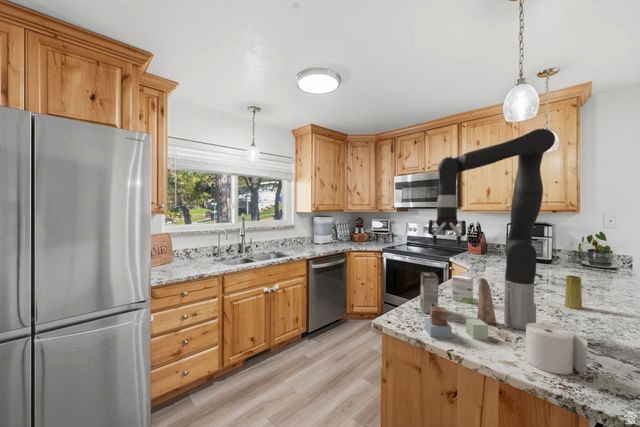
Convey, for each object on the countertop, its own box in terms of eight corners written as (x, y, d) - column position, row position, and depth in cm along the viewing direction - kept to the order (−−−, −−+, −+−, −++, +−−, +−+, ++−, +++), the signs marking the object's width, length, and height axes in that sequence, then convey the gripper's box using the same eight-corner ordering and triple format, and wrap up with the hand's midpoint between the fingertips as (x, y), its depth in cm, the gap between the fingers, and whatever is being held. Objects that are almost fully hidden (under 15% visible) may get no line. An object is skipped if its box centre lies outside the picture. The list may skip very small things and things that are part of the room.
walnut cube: (444, 320, 102) (444, 307, 102) (446, 326, 97) (447, 312, 97) (430, 319, 103) (430, 305, 103) (431, 324, 98) (431, 310, 98)
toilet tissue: (519, 352, 87) (519, 320, 86) (565, 358, 83) (566, 325, 83) (534, 371, 76) (535, 335, 76) (588, 379, 73) (589, 341, 73)
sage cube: (479, 333, 100) (480, 319, 100) (487, 339, 95) (488, 325, 95) (465, 332, 100) (466, 319, 100) (473, 339, 95) (473, 324, 95)
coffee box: (419, 305, 128) (420, 271, 128) (434, 307, 127) (434, 272, 127) (423, 313, 119) (423, 276, 119) (438, 314, 118) (439, 277, 118)
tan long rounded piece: (477, 319, 114) (479, 325, 108) (470, 276, 114) (472, 280, 109) (494, 319, 112) (498, 326, 106) (487, 275, 112) (490, 279, 106)
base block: (444, 330, 103) (444, 319, 103) (451, 338, 96) (451, 327, 96) (424, 329, 103) (425, 318, 103) (430, 337, 96) (430, 326, 96)
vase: (567, 308, 126) (568, 277, 126) (562, 304, 132) (562, 274, 132) (585, 310, 124) (585, 278, 124) (578, 306, 130) (578, 276, 130)
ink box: (473, 301, 135) (473, 277, 135) (469, 304, 131) (470, 279, 131) (454, 297, 141) (455, 274, 141) (451, 299, 138) (451, 276, 137)
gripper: (463, 206, 116) (463, 244, 117) (427, 206, 120) (427, 243, 121) (468, 206, 109) (467, 246, 109) (429, 206, 113) (429, 245, 113)
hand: (446, 245), depth 115 cm, fingers open, 8 cm apart
